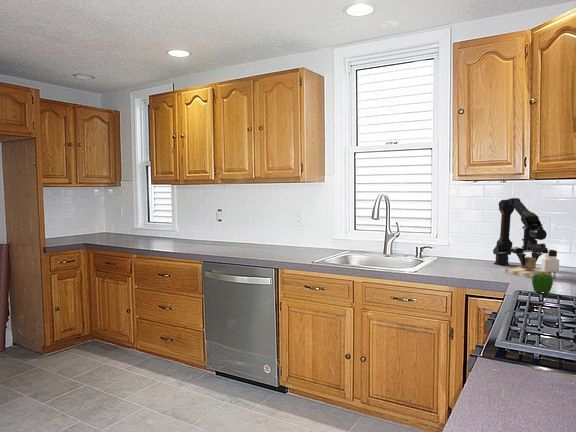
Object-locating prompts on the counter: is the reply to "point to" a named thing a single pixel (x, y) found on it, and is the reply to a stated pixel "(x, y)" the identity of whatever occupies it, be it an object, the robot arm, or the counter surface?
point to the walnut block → (529, 263)
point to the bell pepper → (542, 282)
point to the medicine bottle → (550, 261)
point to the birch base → (526, 272)
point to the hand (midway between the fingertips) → (528, 265)
